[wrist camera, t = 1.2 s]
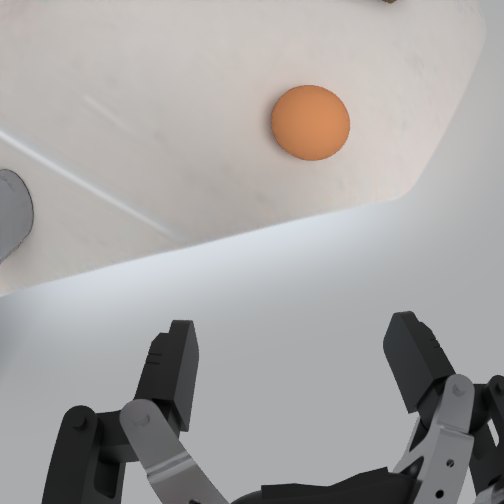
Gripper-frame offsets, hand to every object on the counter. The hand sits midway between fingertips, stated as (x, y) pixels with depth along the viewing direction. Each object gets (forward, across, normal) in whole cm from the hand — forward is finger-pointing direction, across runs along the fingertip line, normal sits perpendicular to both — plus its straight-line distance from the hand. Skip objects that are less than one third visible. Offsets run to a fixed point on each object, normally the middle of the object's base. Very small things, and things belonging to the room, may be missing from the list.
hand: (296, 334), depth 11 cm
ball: (+14, -3, -7) cm, 16 cm away
